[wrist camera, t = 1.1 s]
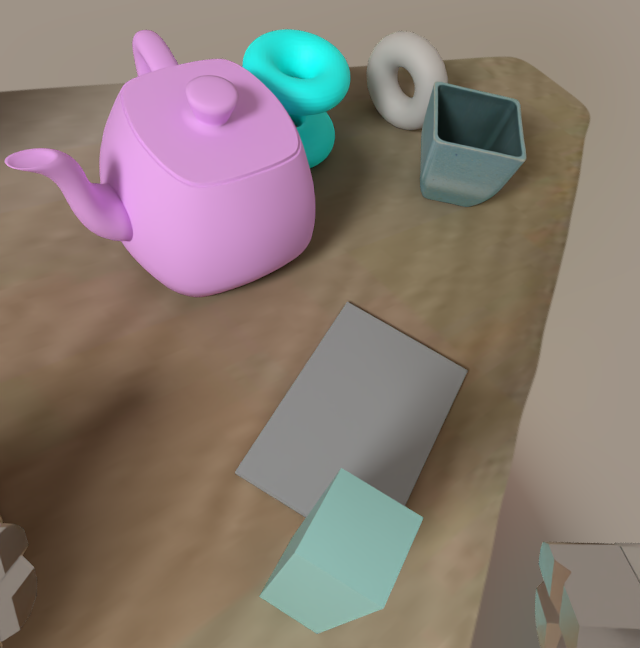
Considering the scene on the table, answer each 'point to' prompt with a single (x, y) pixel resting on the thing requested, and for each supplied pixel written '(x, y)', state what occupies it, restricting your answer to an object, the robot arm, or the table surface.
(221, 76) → the teapot
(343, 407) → the grey mat
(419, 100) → the donut
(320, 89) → the donuts
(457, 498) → the table surface
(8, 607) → the robot arm
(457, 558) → the table surface
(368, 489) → the teal block
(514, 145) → the flower pot
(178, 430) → the table surface
